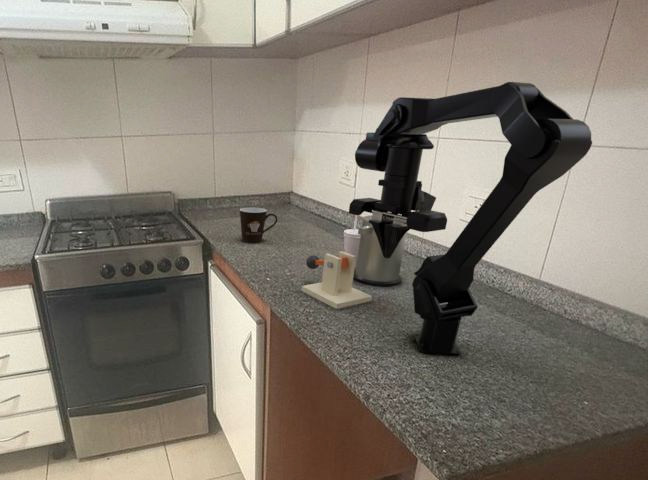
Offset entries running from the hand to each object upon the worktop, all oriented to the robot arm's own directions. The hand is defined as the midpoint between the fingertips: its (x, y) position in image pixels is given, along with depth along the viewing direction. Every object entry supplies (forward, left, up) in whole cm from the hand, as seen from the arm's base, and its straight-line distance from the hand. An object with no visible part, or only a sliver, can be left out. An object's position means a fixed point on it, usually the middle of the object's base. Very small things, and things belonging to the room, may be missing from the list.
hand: (387, 257), depth 86 cm
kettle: (+22, -3, -12) cm, 25 cm away
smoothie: (+32, +2, -12) cm, 34 cm away
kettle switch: (+11, +10, -7) cm, 17 cm away
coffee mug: (+54, +30, -12) cm, 63 cm away
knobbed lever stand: (+8, +8, -12) cm, 16 cm away
